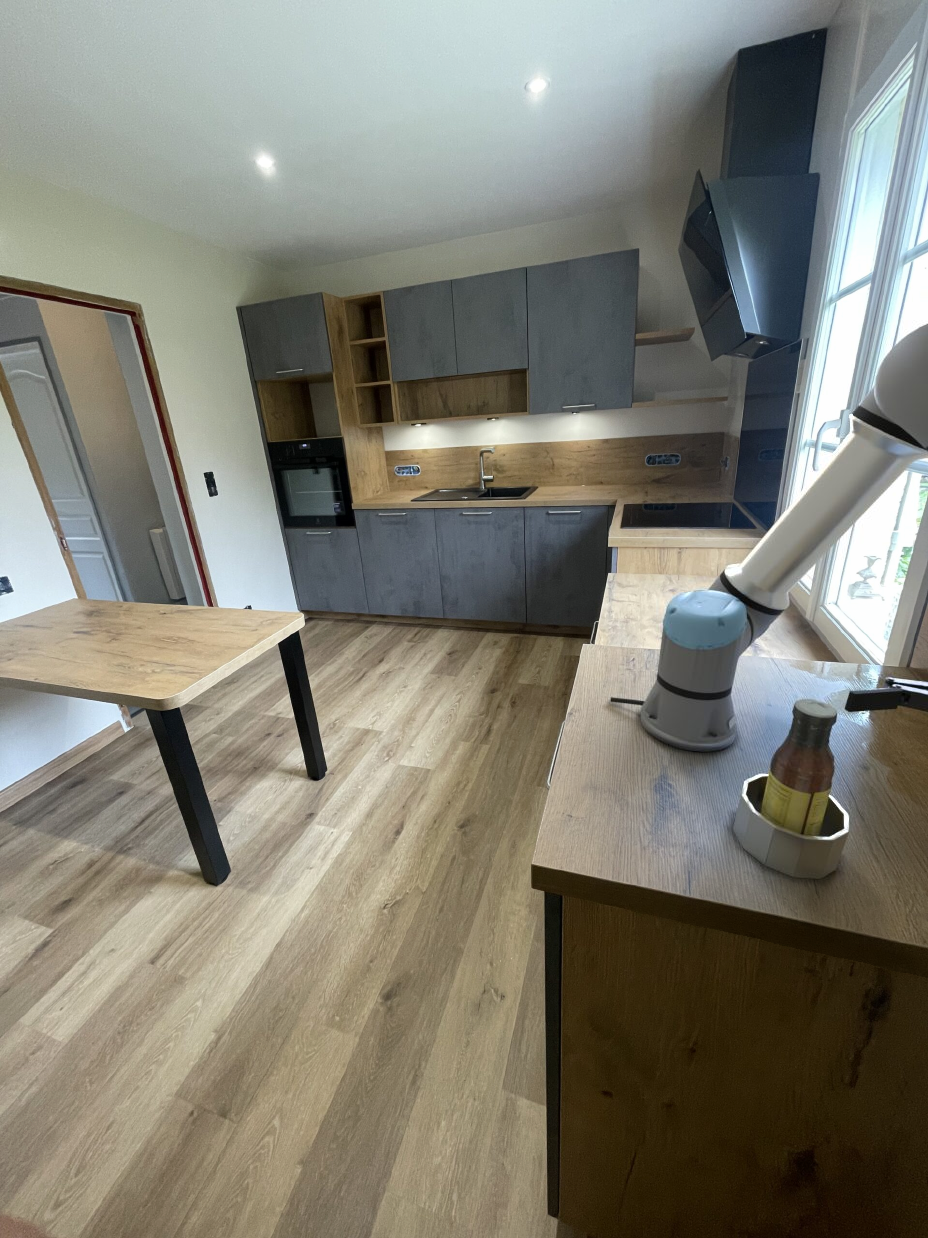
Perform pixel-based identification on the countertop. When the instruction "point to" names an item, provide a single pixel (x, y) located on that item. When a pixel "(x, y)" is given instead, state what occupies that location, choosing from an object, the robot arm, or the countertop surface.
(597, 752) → the countertop surface
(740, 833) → the tin
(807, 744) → the sauce bottle
